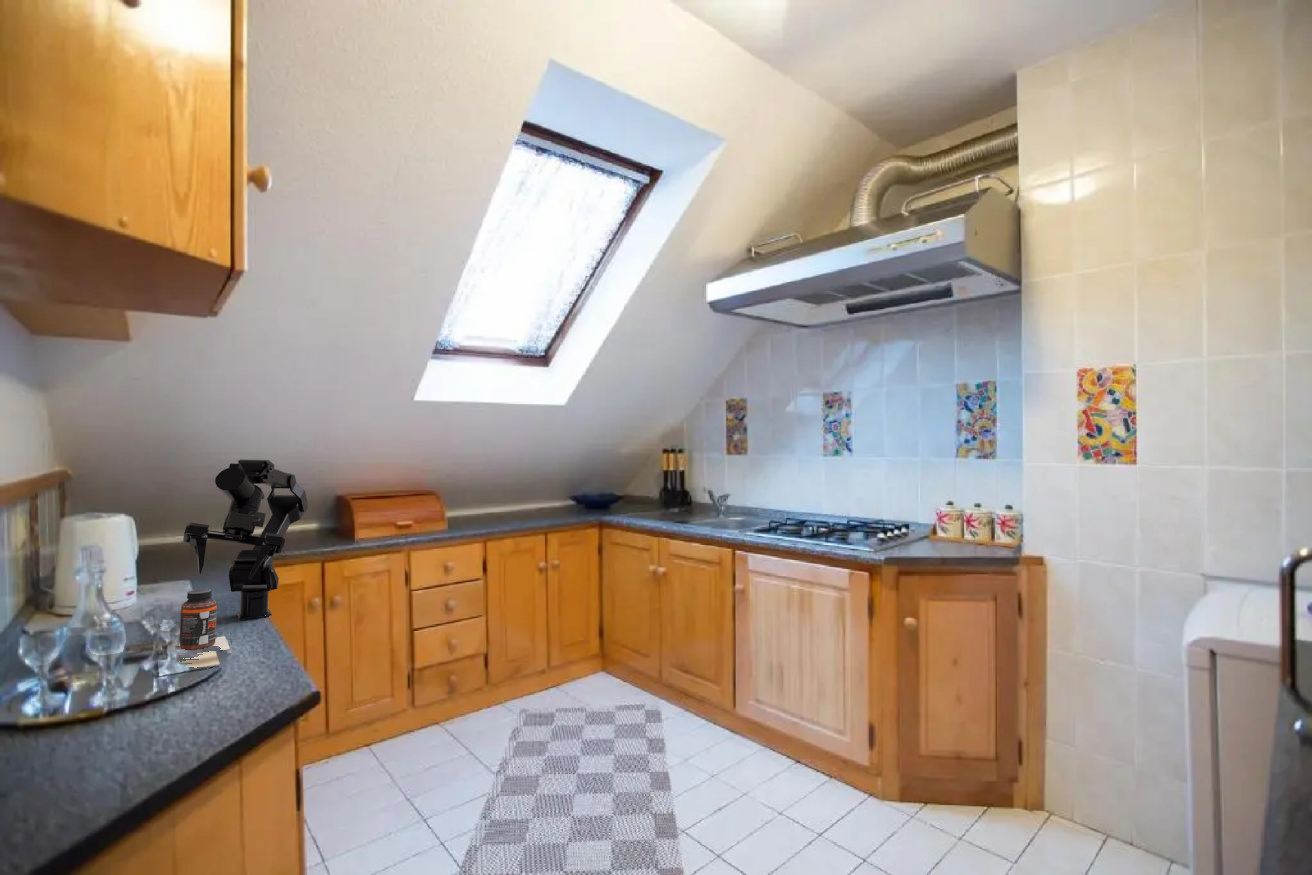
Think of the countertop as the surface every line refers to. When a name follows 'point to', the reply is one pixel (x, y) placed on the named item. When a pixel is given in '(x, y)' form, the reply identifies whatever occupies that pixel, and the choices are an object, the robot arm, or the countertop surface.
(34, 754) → the countertop surface
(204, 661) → the beech pad
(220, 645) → the cream flat square slab
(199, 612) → the supplement bottle
